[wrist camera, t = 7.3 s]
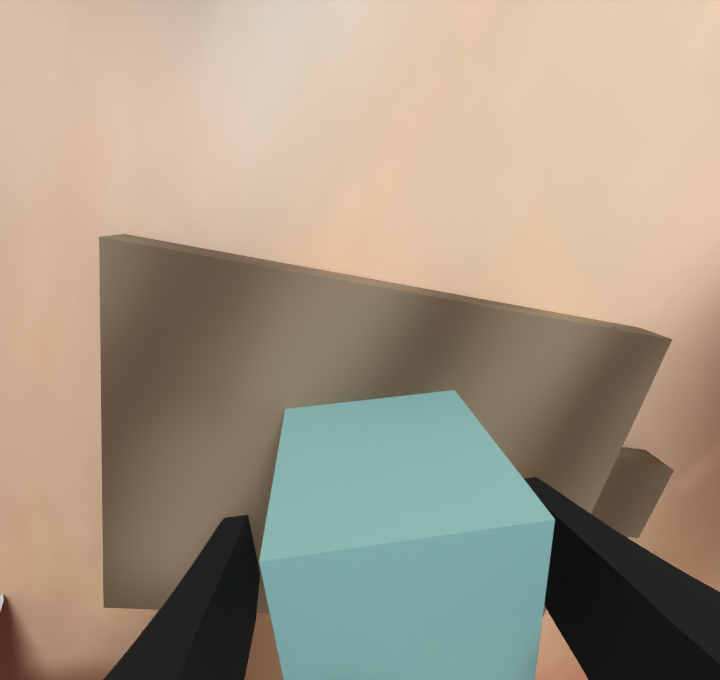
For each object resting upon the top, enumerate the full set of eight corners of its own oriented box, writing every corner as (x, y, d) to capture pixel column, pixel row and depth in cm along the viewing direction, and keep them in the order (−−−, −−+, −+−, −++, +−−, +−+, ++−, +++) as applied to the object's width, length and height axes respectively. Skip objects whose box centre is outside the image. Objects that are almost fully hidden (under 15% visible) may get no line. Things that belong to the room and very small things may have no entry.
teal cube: (454, 390, 11) (555, 519, 6) (452, 522, 13) (531, 703, 8) (285, 409, 11) (259, 561, 6) (305, 542, 12) (297, 745, 8)
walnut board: (699, 338, 13) (736, 351, 12) (574, 595, 16) (593, 623, 15) (124, 234, 10) (99, 236, 9) (121, 574, 13) (103, 607, 12)
